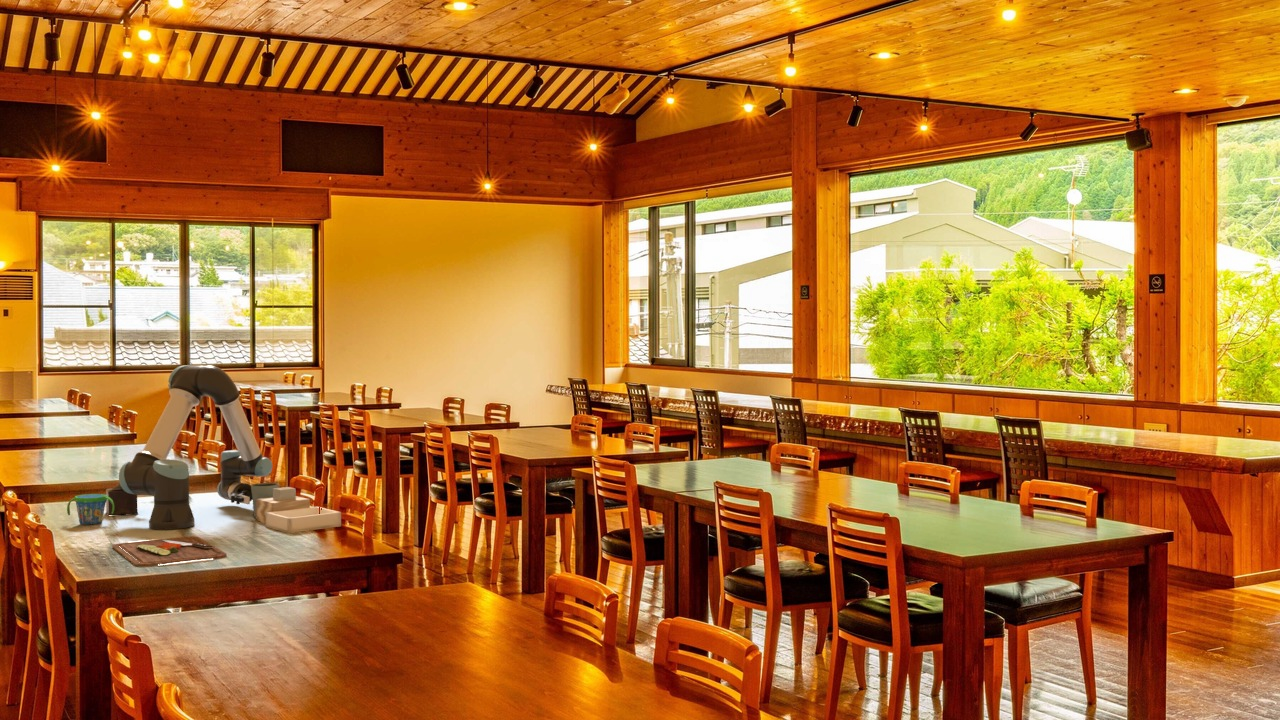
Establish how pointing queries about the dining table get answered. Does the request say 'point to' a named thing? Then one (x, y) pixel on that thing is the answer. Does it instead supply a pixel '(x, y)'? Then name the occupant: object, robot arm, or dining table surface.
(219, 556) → the chopping board
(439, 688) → the dining table surface
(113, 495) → the manual coffee grinder
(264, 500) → the block
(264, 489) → the grey green tapered cup
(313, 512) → the box
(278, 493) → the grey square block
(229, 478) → the robot arm
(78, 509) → the snack cup
